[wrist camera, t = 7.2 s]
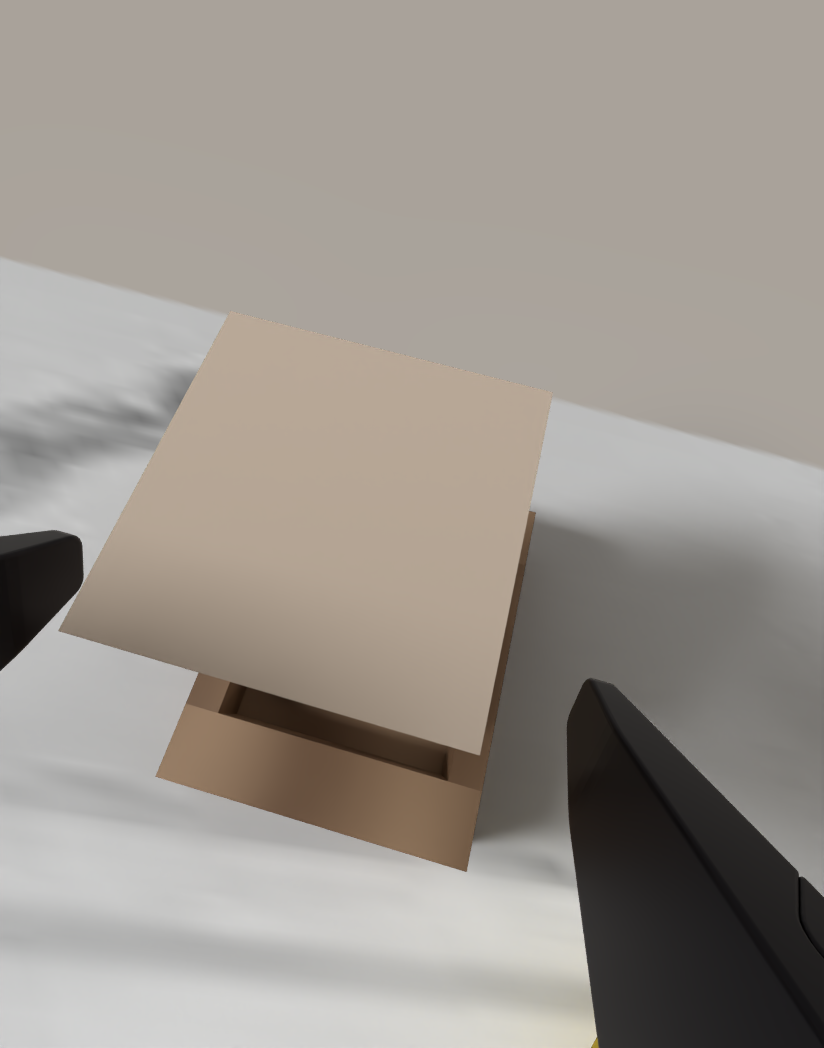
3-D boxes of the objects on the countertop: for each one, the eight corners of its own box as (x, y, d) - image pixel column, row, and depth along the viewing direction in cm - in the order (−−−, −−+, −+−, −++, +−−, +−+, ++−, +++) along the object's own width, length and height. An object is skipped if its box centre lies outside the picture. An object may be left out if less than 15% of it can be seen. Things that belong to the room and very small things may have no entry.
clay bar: (452, 591, 18) (552, 392, 7) (417, 733, 17) (479, 755, 5) (323, 555, 19) (230, 311, 8) (274, 690, 17) (58, 630, 6)
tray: (514, 542, 21) (535, 512, 18) (452, 845, 17) (466, 871, 14) (305, 486, 21) (292, 448, 18) (195, 767, 17) (155, 776, 14)
